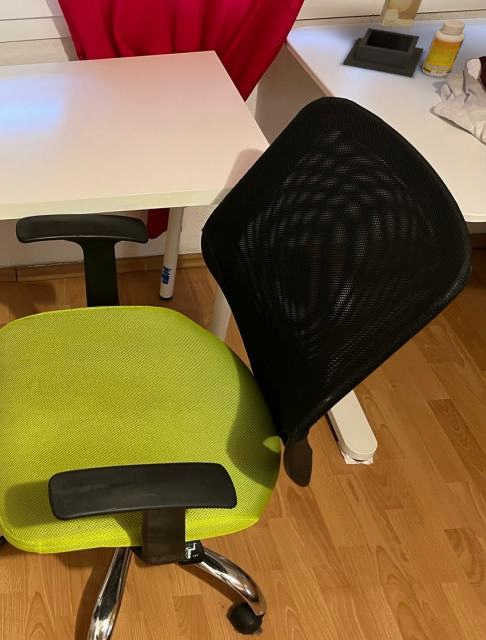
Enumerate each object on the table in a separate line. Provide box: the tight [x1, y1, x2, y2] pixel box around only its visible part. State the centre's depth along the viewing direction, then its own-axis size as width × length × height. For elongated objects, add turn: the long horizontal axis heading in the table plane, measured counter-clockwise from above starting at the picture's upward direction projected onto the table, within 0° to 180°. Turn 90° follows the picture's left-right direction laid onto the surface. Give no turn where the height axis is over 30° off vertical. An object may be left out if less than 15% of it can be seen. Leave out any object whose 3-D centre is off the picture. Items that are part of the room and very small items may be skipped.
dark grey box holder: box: [343, 27, 425, 78], centre depth 149 cm, size 14×14×4 cm
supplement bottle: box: [421, 18, 466, 78], centre depth 142 cm, size 6×6×10 cm
